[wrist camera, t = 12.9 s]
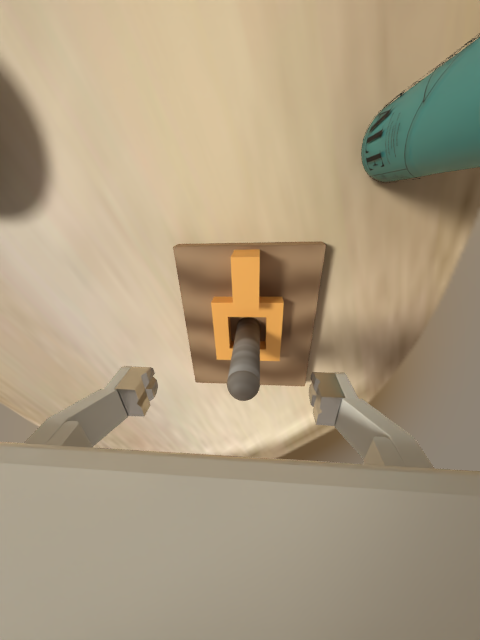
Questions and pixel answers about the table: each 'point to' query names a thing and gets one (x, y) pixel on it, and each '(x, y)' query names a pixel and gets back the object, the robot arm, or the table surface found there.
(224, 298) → the loop fitting
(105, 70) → the table surface
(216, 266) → the keeper board
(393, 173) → the beverage bottle
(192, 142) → the table surface
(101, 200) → the table surface
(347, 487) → the robot arm
